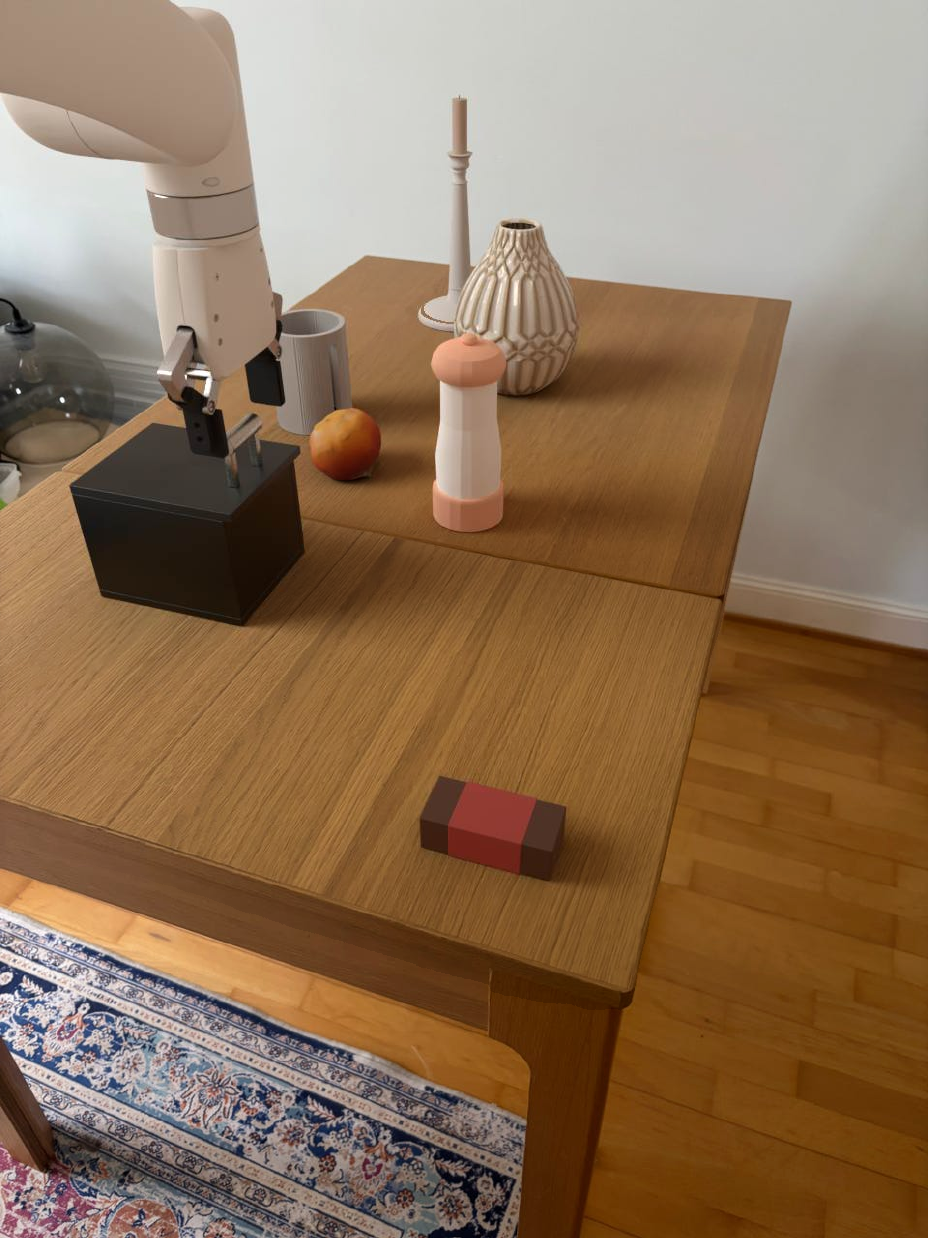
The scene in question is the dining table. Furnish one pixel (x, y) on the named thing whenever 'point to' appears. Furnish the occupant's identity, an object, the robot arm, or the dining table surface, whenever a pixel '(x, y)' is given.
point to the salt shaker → (468, 435)
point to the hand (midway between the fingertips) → (240, 427)
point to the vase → (521, 307)
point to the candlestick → (455, 226)
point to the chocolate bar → (493, 827)
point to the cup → (313, 368)
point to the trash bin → (195, 553)
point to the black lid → (189, 471)
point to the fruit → (345, 444)
